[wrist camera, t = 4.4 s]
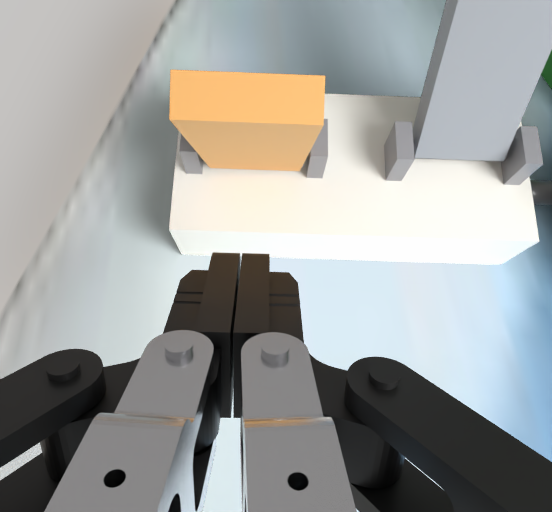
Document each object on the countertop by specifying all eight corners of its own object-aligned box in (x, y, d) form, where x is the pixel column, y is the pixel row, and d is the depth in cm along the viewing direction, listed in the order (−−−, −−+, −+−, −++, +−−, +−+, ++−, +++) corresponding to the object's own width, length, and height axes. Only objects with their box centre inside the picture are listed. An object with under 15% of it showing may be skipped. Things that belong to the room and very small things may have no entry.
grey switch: (495, 152, 25) (596, -93, 18) (504, 168, 24) (614, -85, 17) (403, 149, 25) (466, -99, 18) (408, 164, 24) (477, -91, 17)
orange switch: (304, 144, 24) (332, 75, 14) (303, 172, 24) (330, 125, 14) (207, 140, 24) (163, 69, 14) (207, 169, 24) (162, 119, 14)
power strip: (533, 142, 30) (600, 76, 24) (553, 266, 28) (632, 227, 22) (192, 129, 30) (175, 59, 24) (181, 254, 27) (159, 211, 21)
